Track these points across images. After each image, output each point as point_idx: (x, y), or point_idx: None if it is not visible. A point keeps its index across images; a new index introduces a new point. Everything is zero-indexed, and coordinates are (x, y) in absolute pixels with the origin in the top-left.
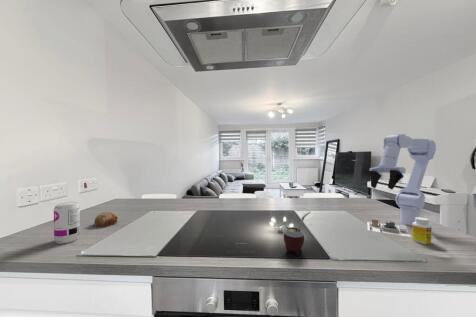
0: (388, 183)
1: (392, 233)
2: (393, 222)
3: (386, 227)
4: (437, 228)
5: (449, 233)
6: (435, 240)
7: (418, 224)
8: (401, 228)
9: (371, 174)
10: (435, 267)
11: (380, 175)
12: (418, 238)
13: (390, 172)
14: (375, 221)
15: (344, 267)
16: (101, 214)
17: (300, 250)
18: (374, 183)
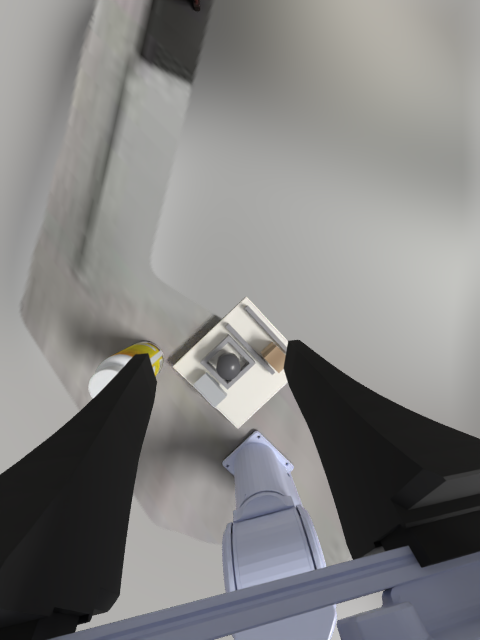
0: (134, 372)
1: (205, 341)
2: (224, 376)
3: (244, 365)
4: (222, 516)
5: (187, 505)
6: (160, 422)
7: (113, 360)
8: (204, 378)
9: (395, 421)
10: (48, 265)
11: (353, 540)
12: (131, 346)
13: (23, 518)
14: (268, 351)
15: (91, 56)
16: None
17: (193, 2)
18: (300, 378)
